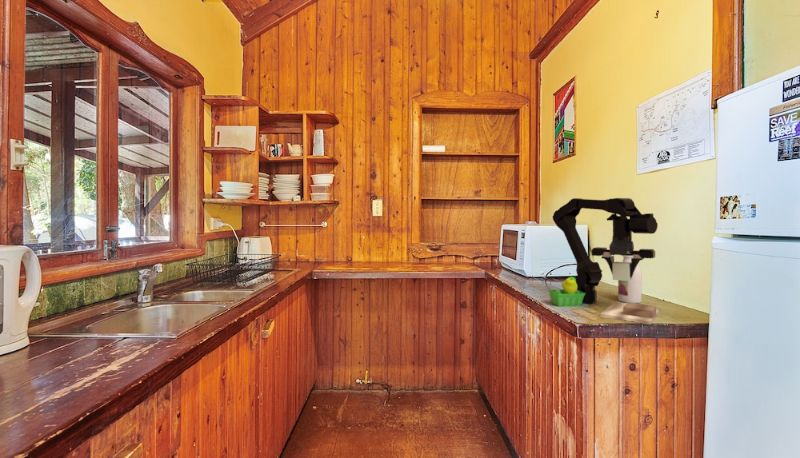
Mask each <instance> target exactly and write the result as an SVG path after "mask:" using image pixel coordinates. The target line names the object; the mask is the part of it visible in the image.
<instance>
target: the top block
mask: <svg viewBox="0 0 800 458" xmlns="http://www.w3.org/2000/svg"><path fill="white" fill-rule="evenodd" d="M630 270H631V262H623V261H614V263H613V275H612V280H613V281H618V280H622V281H630V280H631V279H632V277H630Z"/></svg>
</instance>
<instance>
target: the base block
mask: <svg viewBox="0 0 800 458" xmlns="http://www.w3.org/2000/svg"><path fill="white" fill-rule="evenodd" d="M656 307H657V305H651V304H650V305H649V304H642V303H627V304H626V305H625V306H624V307H623V314H624V315H631V316H638V317H644V318H651V319H653V317H654V316H655V315H656Z"/></svg>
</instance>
